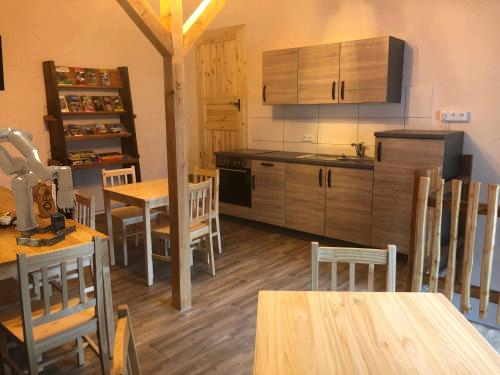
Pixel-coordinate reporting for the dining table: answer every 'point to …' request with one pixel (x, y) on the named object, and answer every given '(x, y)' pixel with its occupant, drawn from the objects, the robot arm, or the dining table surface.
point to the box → (57, 222)
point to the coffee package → (45, 201)
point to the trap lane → (26, 238)
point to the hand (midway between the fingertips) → (68, 218)
